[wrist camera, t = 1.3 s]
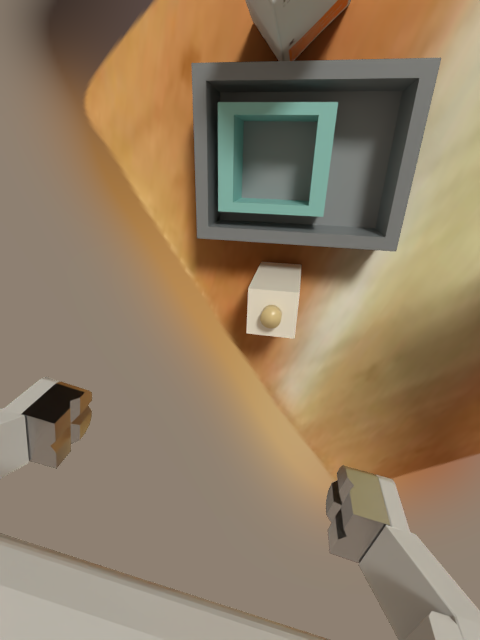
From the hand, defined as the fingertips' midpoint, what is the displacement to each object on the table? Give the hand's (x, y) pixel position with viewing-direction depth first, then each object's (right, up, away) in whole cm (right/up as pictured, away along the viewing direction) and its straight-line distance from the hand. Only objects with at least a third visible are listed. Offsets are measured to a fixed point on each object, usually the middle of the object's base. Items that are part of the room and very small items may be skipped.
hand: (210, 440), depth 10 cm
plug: (+5, +8, +23) cm, 25 cm away
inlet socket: (+4, +18, +18) cm, 26 cm away
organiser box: (+6, +17, +18) cm, 26 cm away
